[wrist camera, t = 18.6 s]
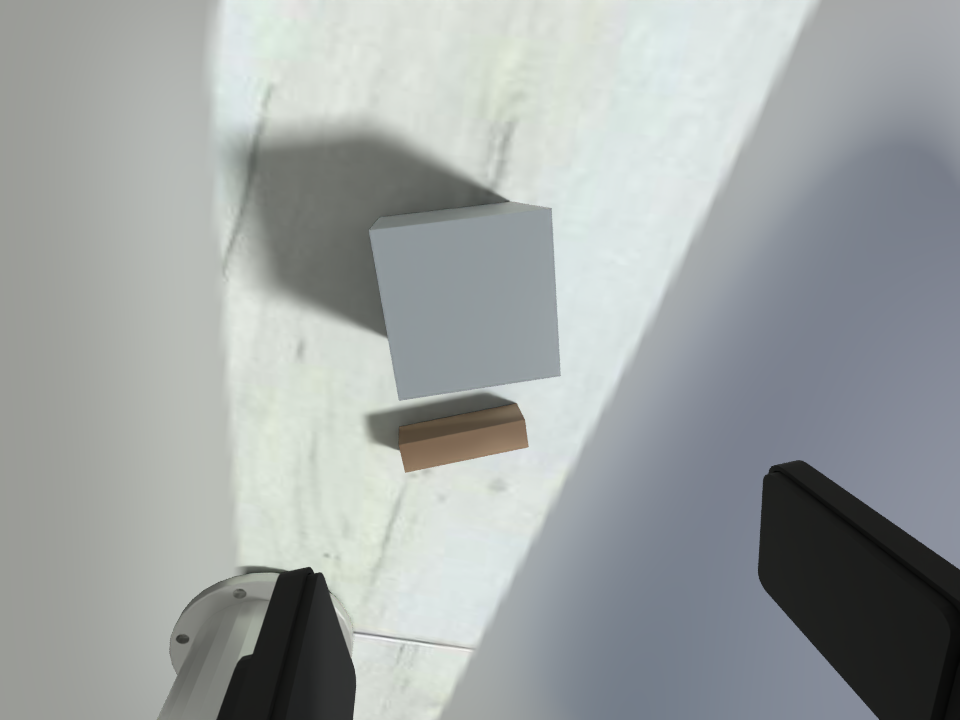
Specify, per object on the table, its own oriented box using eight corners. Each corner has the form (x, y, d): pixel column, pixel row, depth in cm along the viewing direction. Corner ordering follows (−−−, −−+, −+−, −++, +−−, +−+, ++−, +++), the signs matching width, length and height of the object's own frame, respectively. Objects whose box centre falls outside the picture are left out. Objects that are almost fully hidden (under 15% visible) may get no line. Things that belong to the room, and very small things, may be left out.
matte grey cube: (521, 326, 32) (560, 375, 24) (400, 343, 31) (398, 400, 23) (510, 201, 29) (551, 208, 21) (379, 217, 29) (368, 230, 20)
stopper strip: (520, 429, 35) (528, 447, 32) (405, 452, 34) (405, 472, 32) (516, 403, 34) (524, 419, 32) (399, 426, 33) (398, 445, 31)
